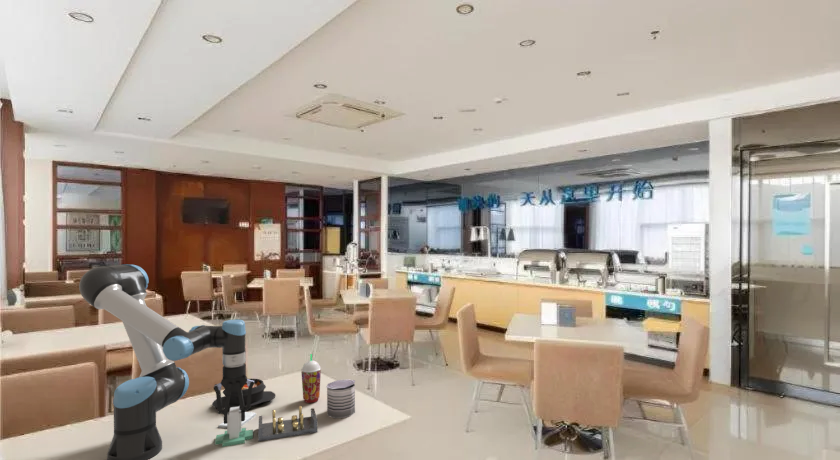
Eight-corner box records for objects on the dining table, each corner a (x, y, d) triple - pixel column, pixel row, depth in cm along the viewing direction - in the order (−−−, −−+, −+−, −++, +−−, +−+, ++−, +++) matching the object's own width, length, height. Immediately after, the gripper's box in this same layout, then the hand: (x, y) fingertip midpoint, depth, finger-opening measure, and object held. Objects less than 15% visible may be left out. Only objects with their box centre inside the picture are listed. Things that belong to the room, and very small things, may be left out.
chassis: (258, 441, 150) (258, 422, 150) (258, 428, 160) (258, 410, 160) (317, 432, 156) (317, 414, 156) (314, 419, 167) (314, 403, 167)
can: (340, 420, 166) (339, 389, 166) (320, 413, 173) (320, 383, 173) (361, 411, 175) (361, 381, 175) (342, 404, 182) (341, 376, 182)
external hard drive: (256, 416, 172) (237, 430, 159) (237, 415, 173) (217, 429, 161) (256, 412, 172) (237, 426, 159) (237, 411, 173) (217, 424, 161)
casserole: (274, 392, 197) (274, 373, 197) (276, 407, 180) (276, 387, 180) (214, 400, 188) (214, 380, 188) (210, 417, 171) (210, 395, 171)
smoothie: (299, 398, 188) (299, 353, 189) (319, 395, 192) (318, 350, 192) (303, 405, 181) (302, 357, 181) (323, 402, 184) (322, 355, 185)
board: (214, 448, 145) (214, 417, 145) (217, 435, 155) (217, 406, 155) (252, 442, 149) (252, 412, 149) (253, 429, 159) (253, 402, 159)
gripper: (207, 370, 146) (207, 439, 146) (258, 364, 152) (258, 432, 151) (210, 364, 153) (210, 430, 153) (258, 359, 159) (259, 423, 158)
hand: (234, 431), depth 152 cm, fingers closed on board, 3 cm apart
